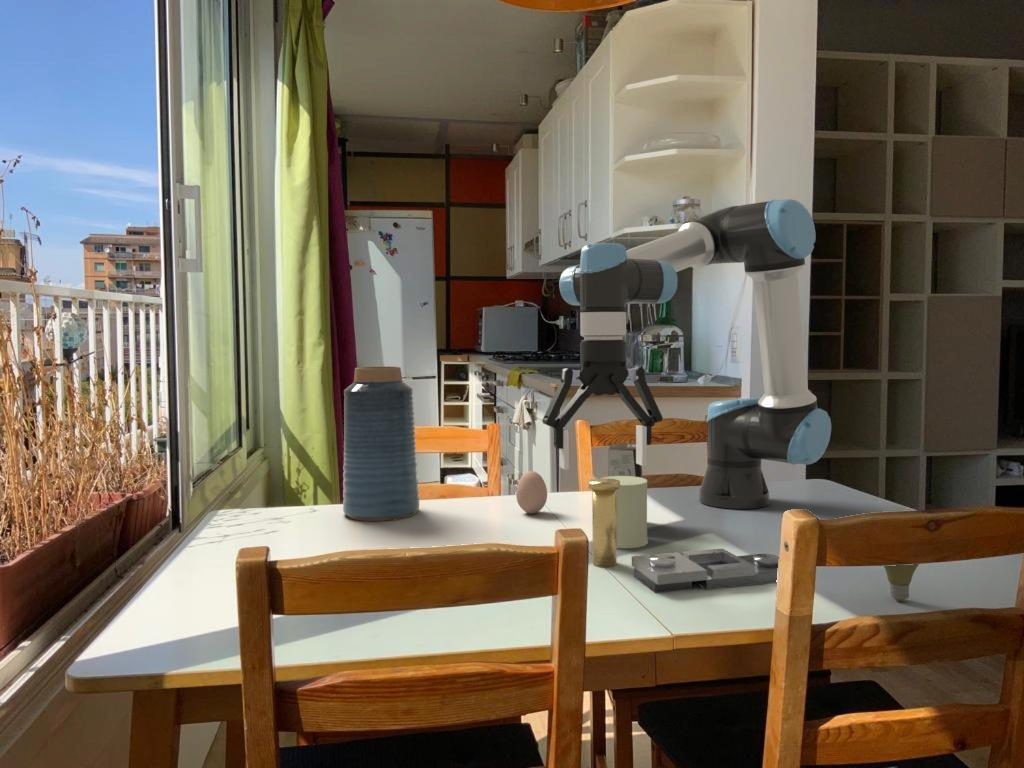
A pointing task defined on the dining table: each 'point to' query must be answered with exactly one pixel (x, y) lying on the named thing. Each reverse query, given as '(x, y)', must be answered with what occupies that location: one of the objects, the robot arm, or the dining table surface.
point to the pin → (604, 521)
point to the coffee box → (623, 460)
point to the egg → (531, 492)
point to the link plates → (704, 570)
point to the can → (631, 512)
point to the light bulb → (900, 580)
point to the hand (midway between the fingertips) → (603, 466)
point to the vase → (379, 446)
